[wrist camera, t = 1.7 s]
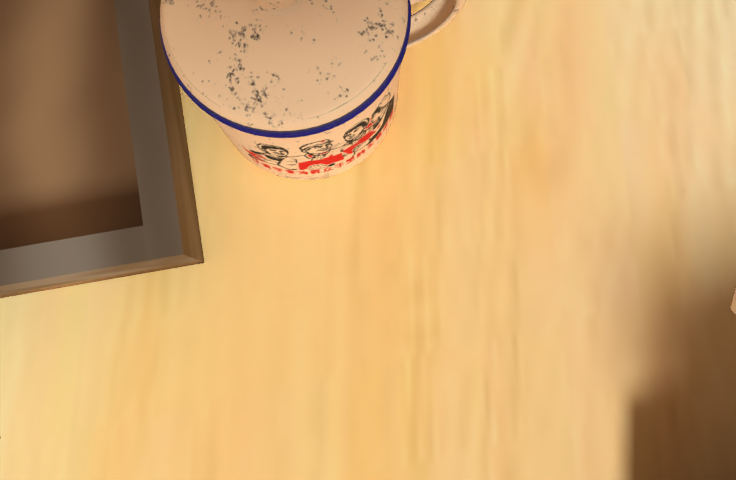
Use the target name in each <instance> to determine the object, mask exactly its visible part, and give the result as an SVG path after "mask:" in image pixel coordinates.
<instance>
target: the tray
mask: <svg viewBox="0 0 736 480" xmlns="http://www.w3.org/2000/svg"><path fill="white" fill-rule="evenodd" d="M160 5H161V0H0V298H3V297H9V296H15V295H21V294H26V293H32V292H38V291H44V290H50V289H55V288H61V287H67V286H73V285H78V284H84V283H90V282H96V281H102V280H107V279H113V278H119V277H125V276H130V275H136V274H142V273H148V272H154V271H159V270H165V269H171V268H177V267H182V266H188V265H194V264H200V263H204V258H203V251H202V244H201V237H200V230H199V223H198V216H197V209H196V202H195V195H194V188H193V181H192V174H191V167H190V160H189V153H188V146H187V139H186V132H185V125H184V118H183V111H182V104H181V97H180V90H179V83H178V82H177V80H176V78H175V76H174V74H173V73H172V71H171V69H170V66H169V64H168V62H167V59H166V56H165V53H164V50H163V45H162V40H161V34H160Z"/></svg>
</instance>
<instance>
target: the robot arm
mask: <svg viewBox="0 0 736 480" xmlns="http://www.w3.org/2000/svg"><path fill="white" fill-rule="evenodd" d="M730 309H731V310H732V311H733V312H734V314H735V315H736V289H735V293H734V297H733V301H732V304H731V308H730ZM0 438H1V437H0Z"/></svg>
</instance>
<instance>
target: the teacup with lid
mask: <svg viewBox="0 0 736 480" xmlns="http://www.w3.org/2000/svg"><path fill="white" fill-rule="evenodd" d="M421 1H424V0H161V5H160V34H161V40H162V45H163V50H164V53H165V56H166V59H167V62H168V64H169V66H170V69H171V71H172V73H173V74H174V76H175V78H176V80H177V82H178V83H179V84H180V86H181V87H182V89H183V90H184V91H185V93H186V94H187V95H188V96H189V97H190V98H191V99H192V101H194V102H195V103H196V104H197V105H198V106H199V107H200V108H201V109H202V110H204V111H205V112H206V113H208V114H209V115H210V116H212V117H213V118H214V120H215V121H216V122H217V124H218V125H219V126H220V128H221V129H222V130H223V131H224V133H225V134H226V135H227V137H228V138H229V139H230V141H231V142H232V143H233V145H234V146H235V147H236V148H237V149H238V151H239V152H240V153H241V154H242V155H243V156H244V157H246V158H247V159H248V160H249V161H251V162H252V163H253V164H255V165H256V166H258V167H260V168H261V169H263V170H265V171H267V172H269V173H272V174H275V175H277V176H281V177H284V178H289V179H295V180H316V179H323V178H327V177H331V176H334V175H338V174H340V173H343V172H345V171H347V170H349V169H351V168H353V167H354V166H356V165H357V164H359V163H360V162H362V161H363V160H364V159H365V158H367V157H368V156H369V155H370V154H371V153H372V152H373V151H374V150H375V149H376V148H377V146H378V145H379V144H380V143H381V141H382V140H383V138H384V136H385V135H386V133H387V131H388V129H389V127H390V125H391V123H392V120H393V117H394V114H395V110H396V104H397V96H398V85H399V74H400V64H401V62H402V59H403V57H404V54H405V51H406V49H407V48H409V47H412V46H414V45H416V44H418V43H420V42H422V41H424V40H426V39H428V38H430V37H431V36H433V35H434V34H436V33H437V32H439V31H440V30H441V29H443V28H444V27H445V26H446V25H447V24H449V23H450V22H451V21H452V20H453V19H454V18H455V17H456V15H457V14H458V13H459V12H460V10H461V9H462V7H463V5H464V4H465V2H466V0H432V1H431V2H430V3H429V4H428V5H427V6H425V7H424V8H423V9H421V10H420V11H418V12H417V13H415V14H413V15H411V5H413V4H416V3H419V2H421Z"/></svg>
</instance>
